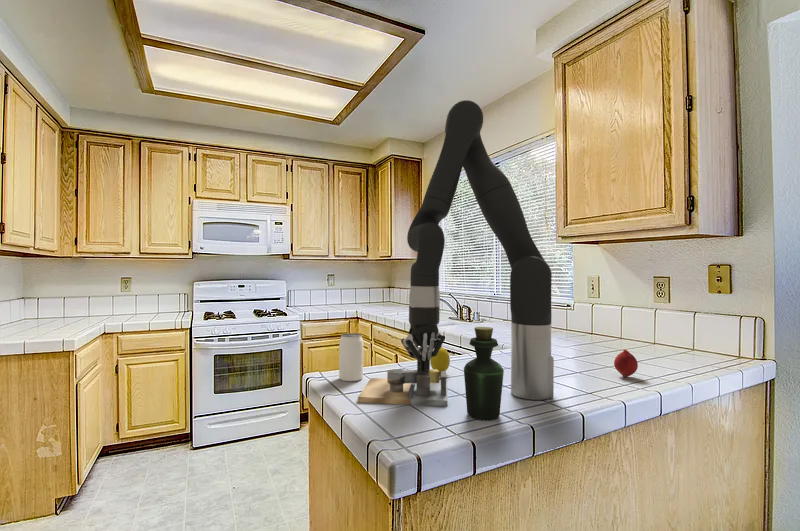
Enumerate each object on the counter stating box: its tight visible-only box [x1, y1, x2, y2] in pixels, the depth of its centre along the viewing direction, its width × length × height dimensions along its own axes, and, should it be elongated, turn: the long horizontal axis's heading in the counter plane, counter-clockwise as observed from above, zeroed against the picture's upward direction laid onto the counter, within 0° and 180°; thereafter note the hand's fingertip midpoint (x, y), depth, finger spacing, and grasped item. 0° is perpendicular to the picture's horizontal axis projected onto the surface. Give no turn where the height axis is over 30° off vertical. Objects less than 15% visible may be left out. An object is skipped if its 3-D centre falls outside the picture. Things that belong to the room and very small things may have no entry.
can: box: [338, 332, 364, 383], centre depth 112 cm, size 6×6×12 cm
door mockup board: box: [357, 370, 448, 407], centre depth 100 cm, size 20×16×6 cm
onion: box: [613, 348, 639, 378], centre depth 116 cm, size 6×6×8 cm
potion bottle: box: [463, 326, 505, 422], centre depth 85 cm, size 8×8×18 cm
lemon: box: [430, 346, 451, 375], centre depth 118 cm, size 6×6×8 cm
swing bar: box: [386, 368, 440, 385], centre depth 98 cm, size 12×4×3 cm, turn 95°
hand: (423, 375), depth 101 cm, fingers closed
